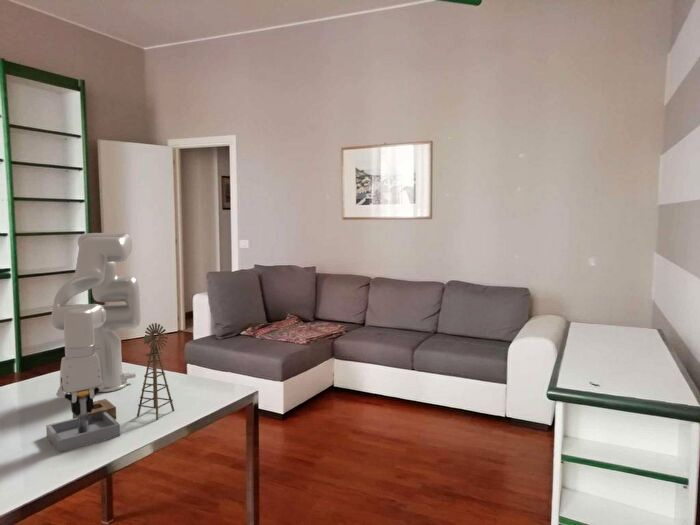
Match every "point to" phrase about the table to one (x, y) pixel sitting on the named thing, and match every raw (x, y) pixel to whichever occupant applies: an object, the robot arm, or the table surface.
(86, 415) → the pin
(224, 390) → the table surface
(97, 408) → the socket block
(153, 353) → the miniature windmill
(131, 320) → the robot arm
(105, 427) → the tray
